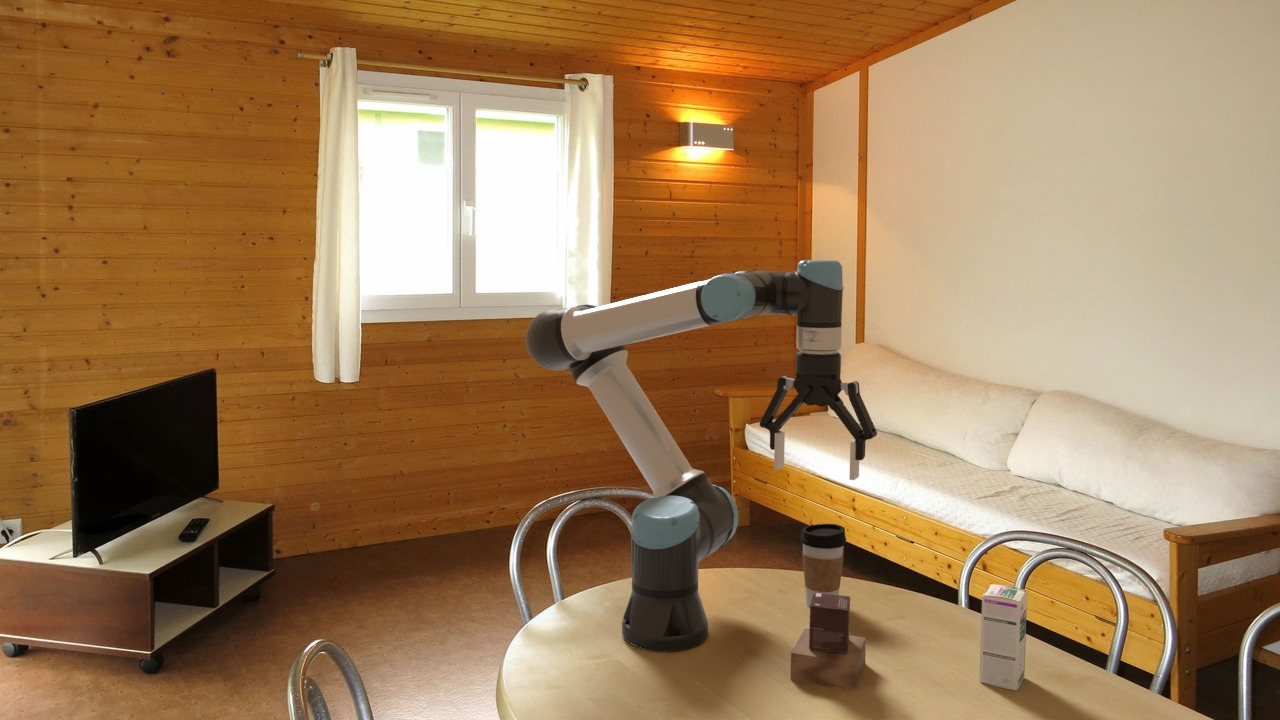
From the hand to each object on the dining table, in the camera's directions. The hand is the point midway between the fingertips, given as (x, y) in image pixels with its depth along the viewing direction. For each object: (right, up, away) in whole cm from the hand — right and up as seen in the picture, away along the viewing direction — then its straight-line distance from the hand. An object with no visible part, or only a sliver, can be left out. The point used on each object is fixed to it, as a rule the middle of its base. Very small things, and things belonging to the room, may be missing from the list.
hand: (815, 473), depth 161 cm
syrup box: (+26, -31, -14) cm, 43 cm away
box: (0, -26, -12) cm, 29 cm away
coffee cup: (+4, -27, +16) cm, 32 cm away
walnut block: (0, -31, -11) cm, 33 cm away
